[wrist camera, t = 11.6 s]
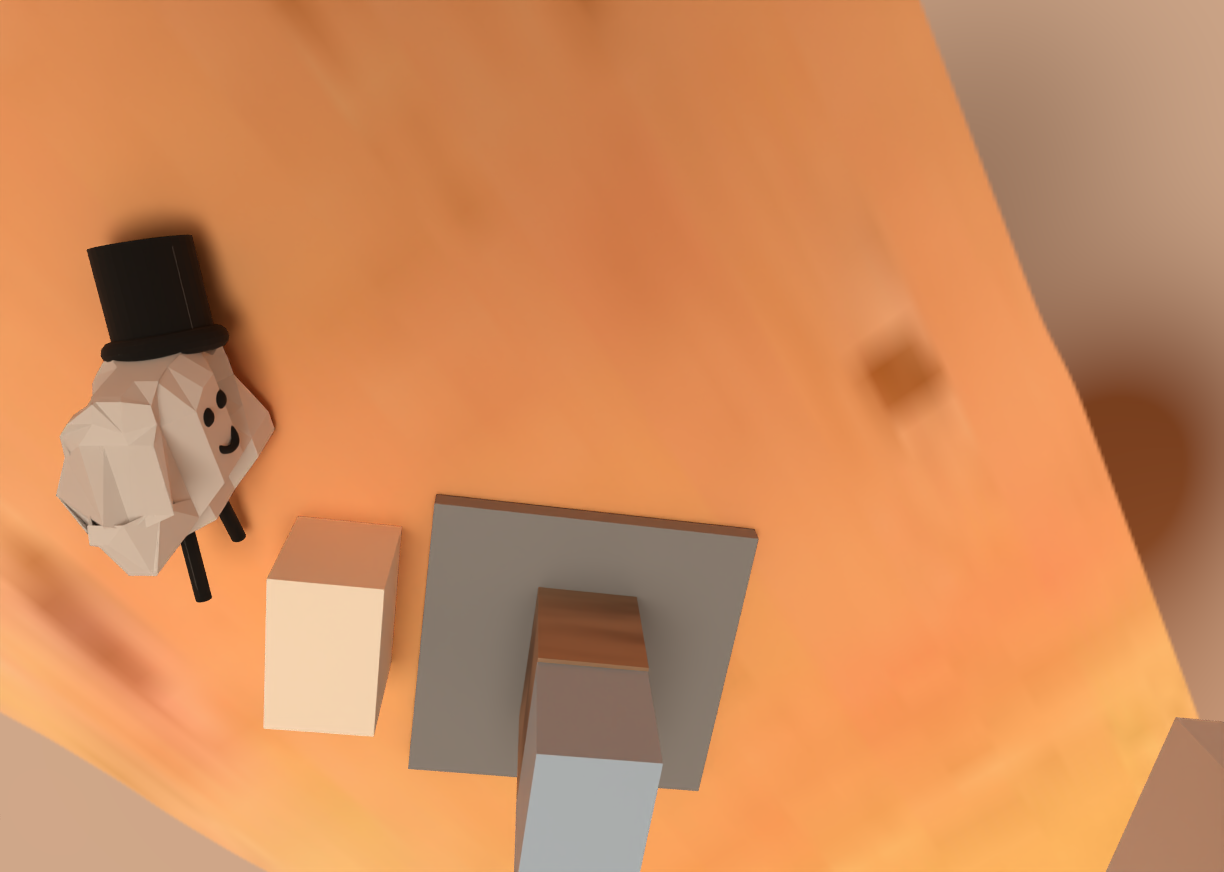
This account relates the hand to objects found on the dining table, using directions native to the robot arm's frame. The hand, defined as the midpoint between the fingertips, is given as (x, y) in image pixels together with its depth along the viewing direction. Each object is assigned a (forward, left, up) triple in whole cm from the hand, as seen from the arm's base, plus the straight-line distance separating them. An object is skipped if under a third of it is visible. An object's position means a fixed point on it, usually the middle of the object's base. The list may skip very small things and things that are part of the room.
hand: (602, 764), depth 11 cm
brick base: (+22, +4, -34) cm, 40 cm away
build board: (+22, +4, -35) cm, 41 cm away
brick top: (+22, +4, -28) cm, 36 cm away
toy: (+10, -15, -35) cm, 40 cm away
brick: (+20, -8, -35) cm, 41 cm away
